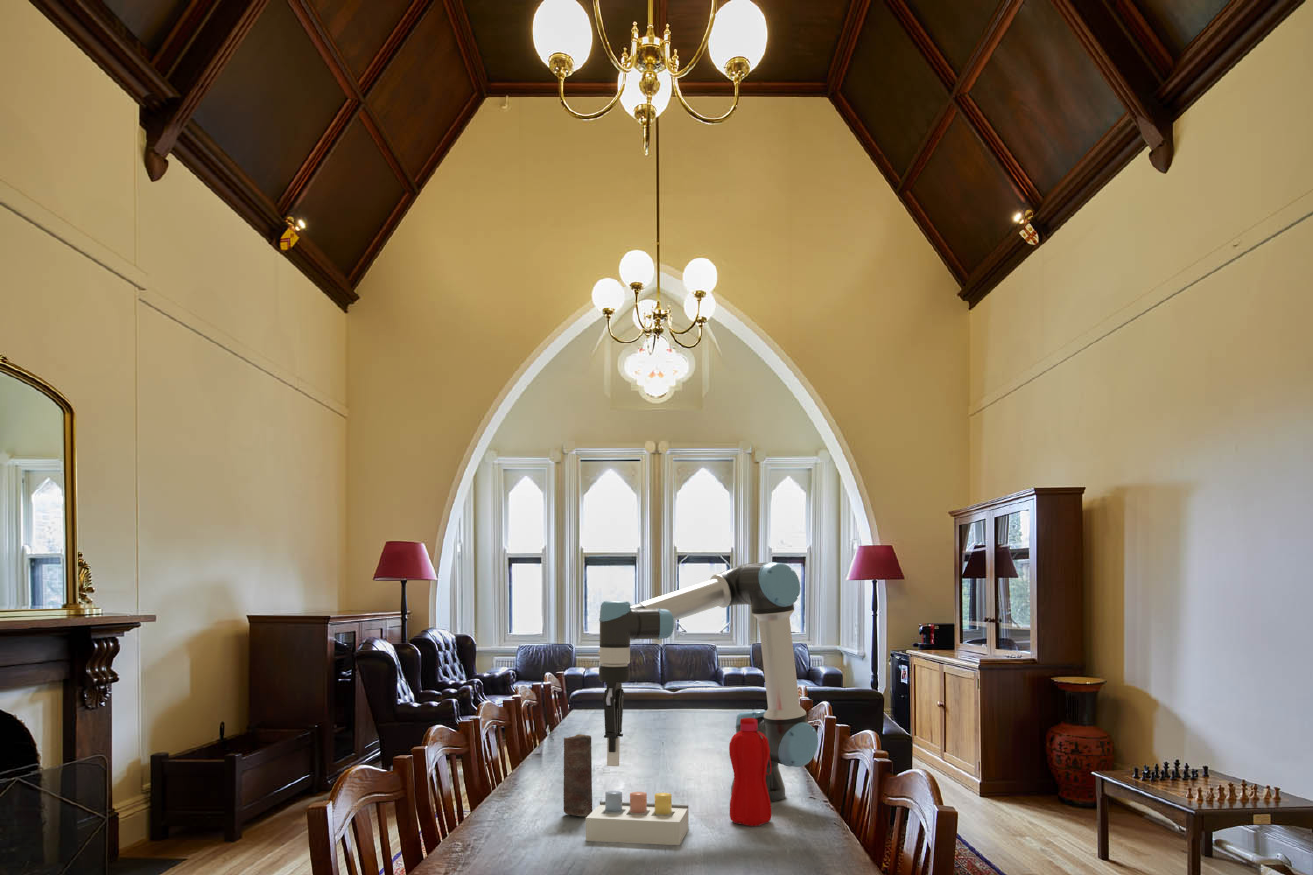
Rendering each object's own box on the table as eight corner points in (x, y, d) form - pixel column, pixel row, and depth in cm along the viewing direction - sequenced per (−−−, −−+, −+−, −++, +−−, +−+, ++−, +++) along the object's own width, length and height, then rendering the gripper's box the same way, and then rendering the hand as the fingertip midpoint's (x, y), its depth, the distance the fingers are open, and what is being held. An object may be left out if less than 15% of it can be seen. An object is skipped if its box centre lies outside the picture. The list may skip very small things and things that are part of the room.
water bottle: (761, 830, 221) (759, 722, 225) (724, 822, 228) (723, 718, 232) (782, 822, 228) (780, 718, 232) (746, 815, 235) (744, 714, 239)
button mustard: (672, 810, 218) (672, 792, 219) (670, 814, 214) (669, 796, 215) (656, 809, 219) (656, 792, 219) (653, 813, 215) (653, 796, 216)
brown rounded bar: (567, 820, 230) (568, 737, 233) (558, 813, 236) (559, 733, 240) (596, 817, 233) (597, 735, 236) (586, 810, 240) (587, 731, 243)
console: (688, 829, 222) (688, 804, 222) (679, 845, 208) (679, 819, 209) (600, 824, 225) (600, 801, 226) (585, 840, 212) (585, 814, 213)
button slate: (623, 808, 220) (623, 791, 221) (620, 812, 216) (620, 794, 217) (607, 807, 221) (607, 790, 222) (603, 811, 217) (603, 794, 218)
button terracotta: (648, 809, 219) (648, 791, 220) (644, 813, 215) (644, 795, 216) (631, 808, 220) (631, 791, 220) (628, 812, 216) (628, 795, 217)
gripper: (605, 662, 231) (604, 760, 227) (592, 666, 218) (591, 770, 214) (634, 663, 230) (633, 761, 226) (623, 667, 217) (622, 771, 213)
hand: (613, 765), depth 220 cm, fingers closed
